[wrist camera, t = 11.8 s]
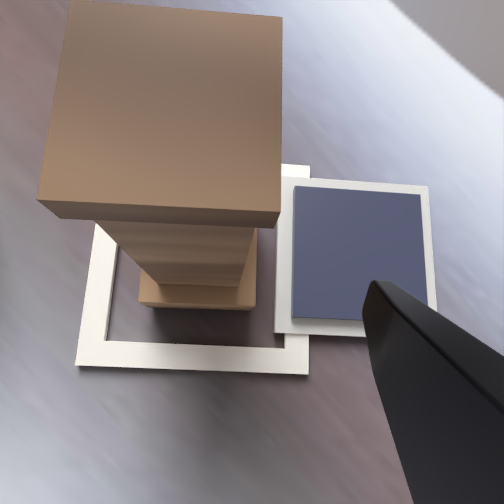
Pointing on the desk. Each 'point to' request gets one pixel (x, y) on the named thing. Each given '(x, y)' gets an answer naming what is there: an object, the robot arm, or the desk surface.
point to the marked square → (172, 355)
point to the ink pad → (347, 251)
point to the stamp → (170, 143)
